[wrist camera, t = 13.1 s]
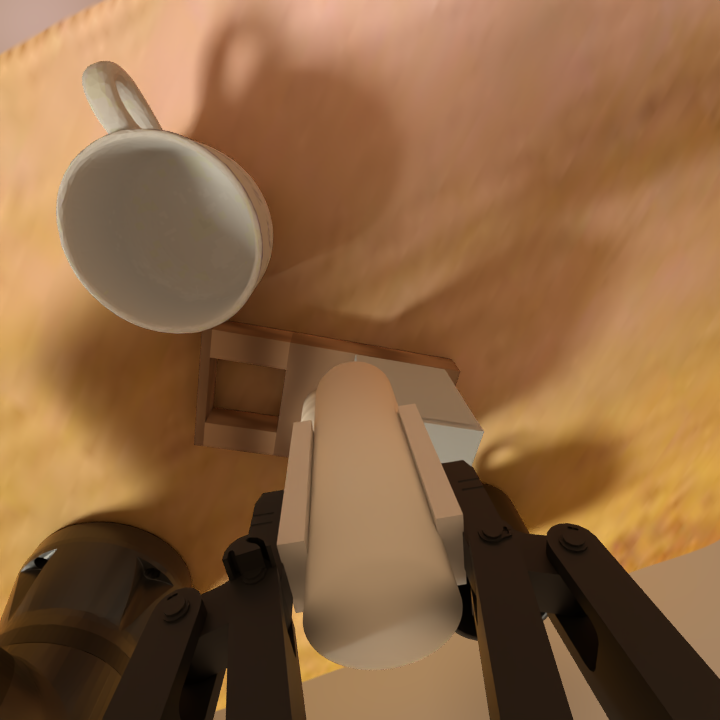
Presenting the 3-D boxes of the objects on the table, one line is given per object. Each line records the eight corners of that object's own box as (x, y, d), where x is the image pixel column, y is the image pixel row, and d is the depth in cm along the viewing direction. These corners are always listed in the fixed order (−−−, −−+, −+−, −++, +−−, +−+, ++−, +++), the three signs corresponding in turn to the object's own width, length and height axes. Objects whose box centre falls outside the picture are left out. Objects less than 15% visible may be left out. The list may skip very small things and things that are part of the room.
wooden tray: (203, 428, 35) (179, 472, 30) (211, 317, 32) (185, 344, 26) (420, 458, 38) (436, 504, 32) (451, 359, 34) (474, 391, 29)
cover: (326, 463, 34) (324, 548, 26) (349, 353, 31) (355, 412, 22) (412, 474, 35) (436, 560, 27) (444, 369, 32) (483, 431, 23)
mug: (486, 446, 38) (530, 518, 29) (524, 532, 42) (572, 617, 34) (394, 486, 39) (410, 566, 31) (440, 566, 43) (466, 656, 35)
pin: (322, 435, 22) (317, 680, 11) (309, 367, 21) (288, 573, 9) (396, 424, 22) (464, 656, 11) (388, 356, 21) (460, 547, 10)
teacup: (289, 296, 31) (275, 329, 24) (145, 307, 31) (87, 344, 24) (259, 81, 26) (231, 38, 19) (86, 92, 26) (-12, 53, 18)
